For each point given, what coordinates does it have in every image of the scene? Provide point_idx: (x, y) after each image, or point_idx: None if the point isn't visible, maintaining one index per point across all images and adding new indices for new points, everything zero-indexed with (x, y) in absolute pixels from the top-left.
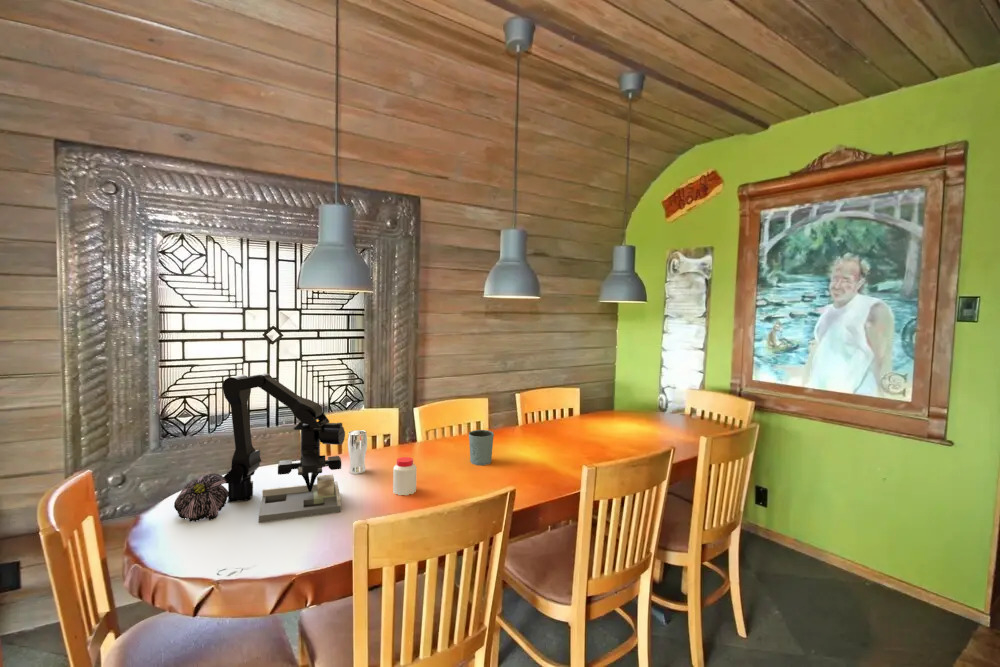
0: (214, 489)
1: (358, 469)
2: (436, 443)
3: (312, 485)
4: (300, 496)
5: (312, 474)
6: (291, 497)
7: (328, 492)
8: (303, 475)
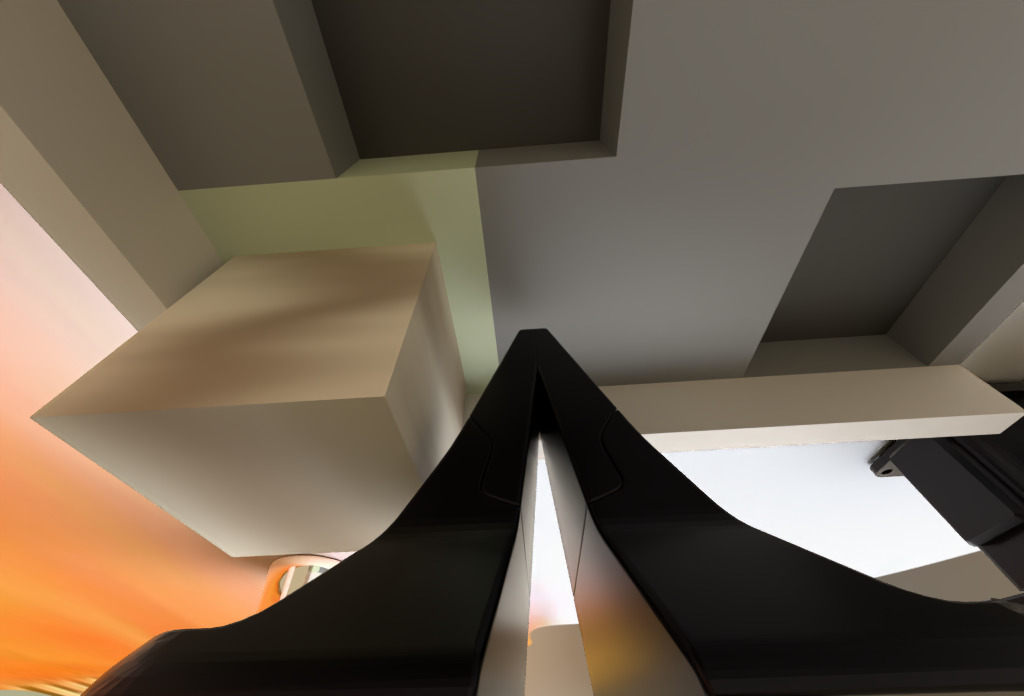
0: None
1: (286, 582)
2: (113, 661)
3: (501, 375)
4: (633, 291)
5: (490, 589)
6: (733, 284)
7: (285, 270)
8: (798, 571)
